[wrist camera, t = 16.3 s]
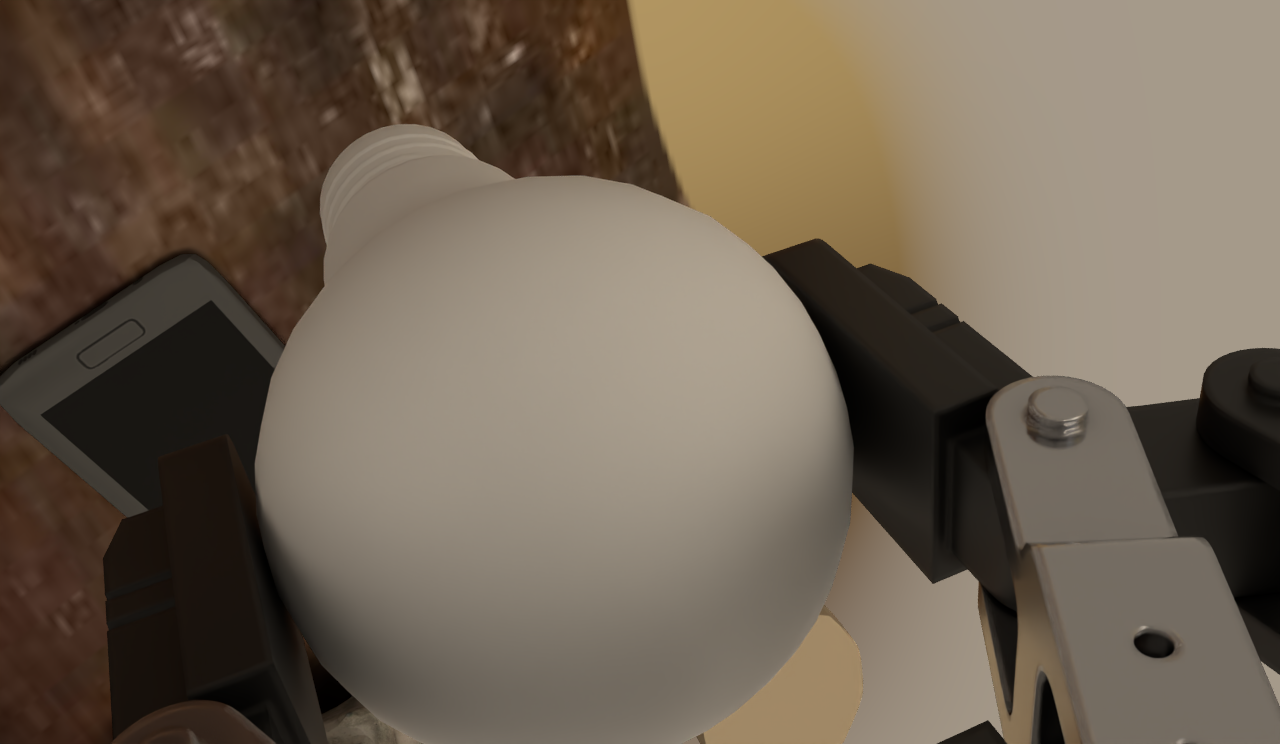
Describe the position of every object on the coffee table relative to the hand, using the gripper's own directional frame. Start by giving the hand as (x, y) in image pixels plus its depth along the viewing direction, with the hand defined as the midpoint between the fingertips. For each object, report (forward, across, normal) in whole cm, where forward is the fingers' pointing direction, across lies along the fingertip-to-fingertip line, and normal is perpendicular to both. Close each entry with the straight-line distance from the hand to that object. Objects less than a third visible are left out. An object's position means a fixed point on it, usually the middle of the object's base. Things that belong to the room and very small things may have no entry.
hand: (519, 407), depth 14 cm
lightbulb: (+7, 0, 0) cm, 7 cm away
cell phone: (+24, +6, +16) cm, 29 cm away
